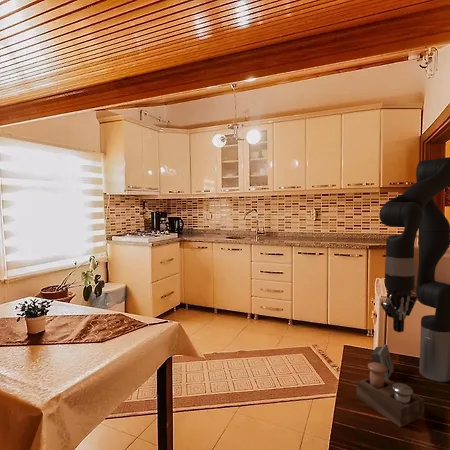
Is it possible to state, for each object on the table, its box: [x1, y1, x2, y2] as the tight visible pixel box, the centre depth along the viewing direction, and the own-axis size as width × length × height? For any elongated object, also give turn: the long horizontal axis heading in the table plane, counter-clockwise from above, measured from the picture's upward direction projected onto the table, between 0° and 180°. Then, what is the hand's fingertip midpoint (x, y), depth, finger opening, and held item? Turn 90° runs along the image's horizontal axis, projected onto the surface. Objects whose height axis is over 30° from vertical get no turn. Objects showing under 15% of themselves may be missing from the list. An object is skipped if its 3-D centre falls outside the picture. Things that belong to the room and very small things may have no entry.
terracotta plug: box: [367, 361, 387, 389], centre depth 100 cm, size 5×5×8 cm
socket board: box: [355, 377, 426, 428], centre depth 96 cm, size 10×15×5 cm, turn 25°
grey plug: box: [392, 382, 414, 405], centre depth 92 cm, size 5×5×8 cm
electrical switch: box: [370, 343, 395, 380], centre depth 115 cm, size 9×5×9 cm, turn 141°
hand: (398, 331), depth 94 cm, fingers closed
